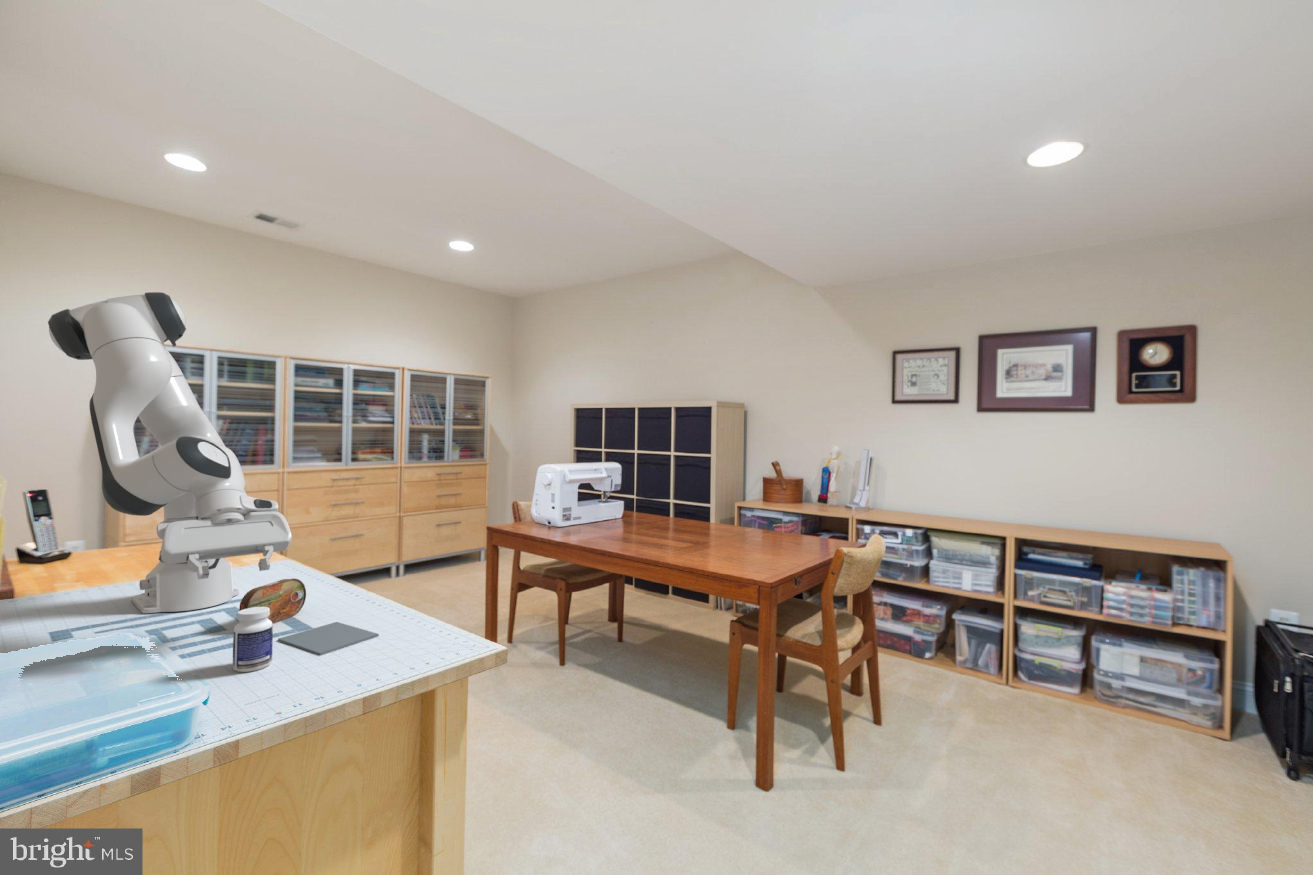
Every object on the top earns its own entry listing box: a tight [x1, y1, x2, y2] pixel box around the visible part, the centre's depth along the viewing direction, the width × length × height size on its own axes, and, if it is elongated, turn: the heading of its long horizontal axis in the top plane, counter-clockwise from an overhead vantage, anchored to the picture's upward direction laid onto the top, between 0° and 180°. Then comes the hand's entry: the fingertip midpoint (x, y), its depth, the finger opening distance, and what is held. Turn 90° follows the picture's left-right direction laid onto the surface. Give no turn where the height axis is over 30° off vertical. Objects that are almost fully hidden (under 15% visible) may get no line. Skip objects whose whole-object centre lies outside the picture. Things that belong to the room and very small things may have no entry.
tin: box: [238, 578, 307, 625], centre depth 124 cm, size 15×3×8 cm, turn 168°
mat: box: [277, 621, 379, 656], centre depth 115 cm, size 14×12×1 cm
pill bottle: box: [232, 607, 274, 673], centre depth 101 cm, size 6×6×10 cm
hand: (235, 572), depth 107 cm, fingers open, 8 cm apart
